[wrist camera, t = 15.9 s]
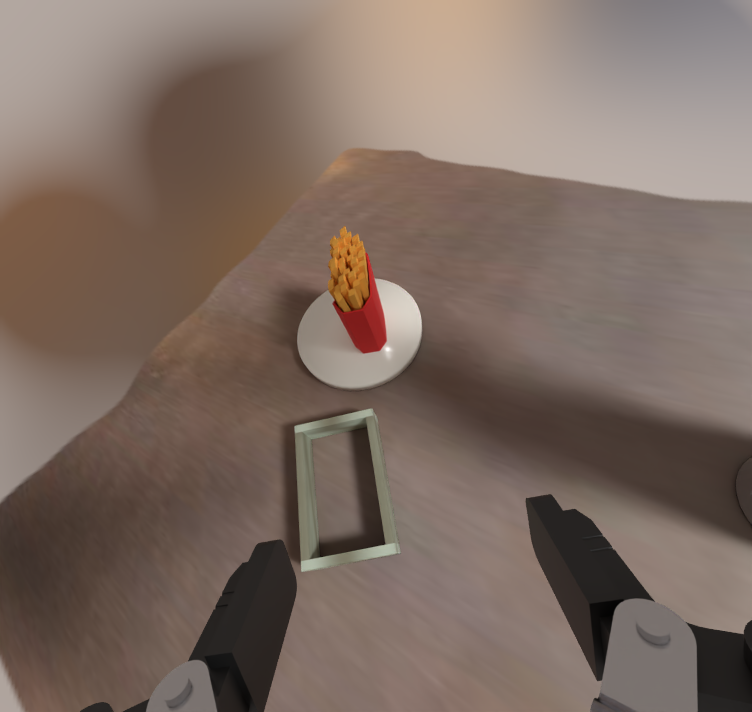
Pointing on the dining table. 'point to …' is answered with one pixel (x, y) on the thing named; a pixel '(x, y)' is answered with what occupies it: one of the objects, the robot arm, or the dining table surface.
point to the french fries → (356, 293)
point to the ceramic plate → (340, 356)
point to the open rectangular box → (308, 495)
